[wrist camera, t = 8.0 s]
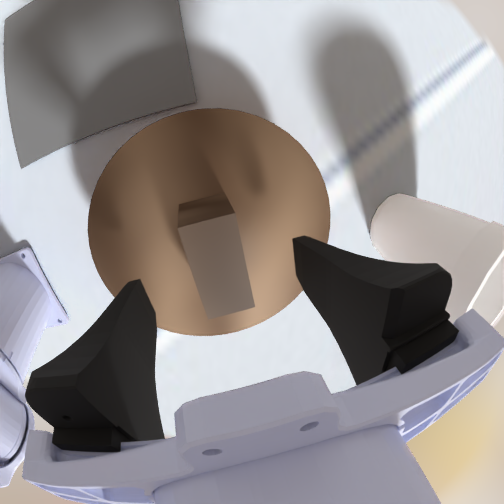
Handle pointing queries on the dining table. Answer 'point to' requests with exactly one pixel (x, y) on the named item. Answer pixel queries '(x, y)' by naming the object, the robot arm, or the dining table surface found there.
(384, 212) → the foam cup
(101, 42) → the mat
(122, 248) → the lid
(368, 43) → the dining table surface
